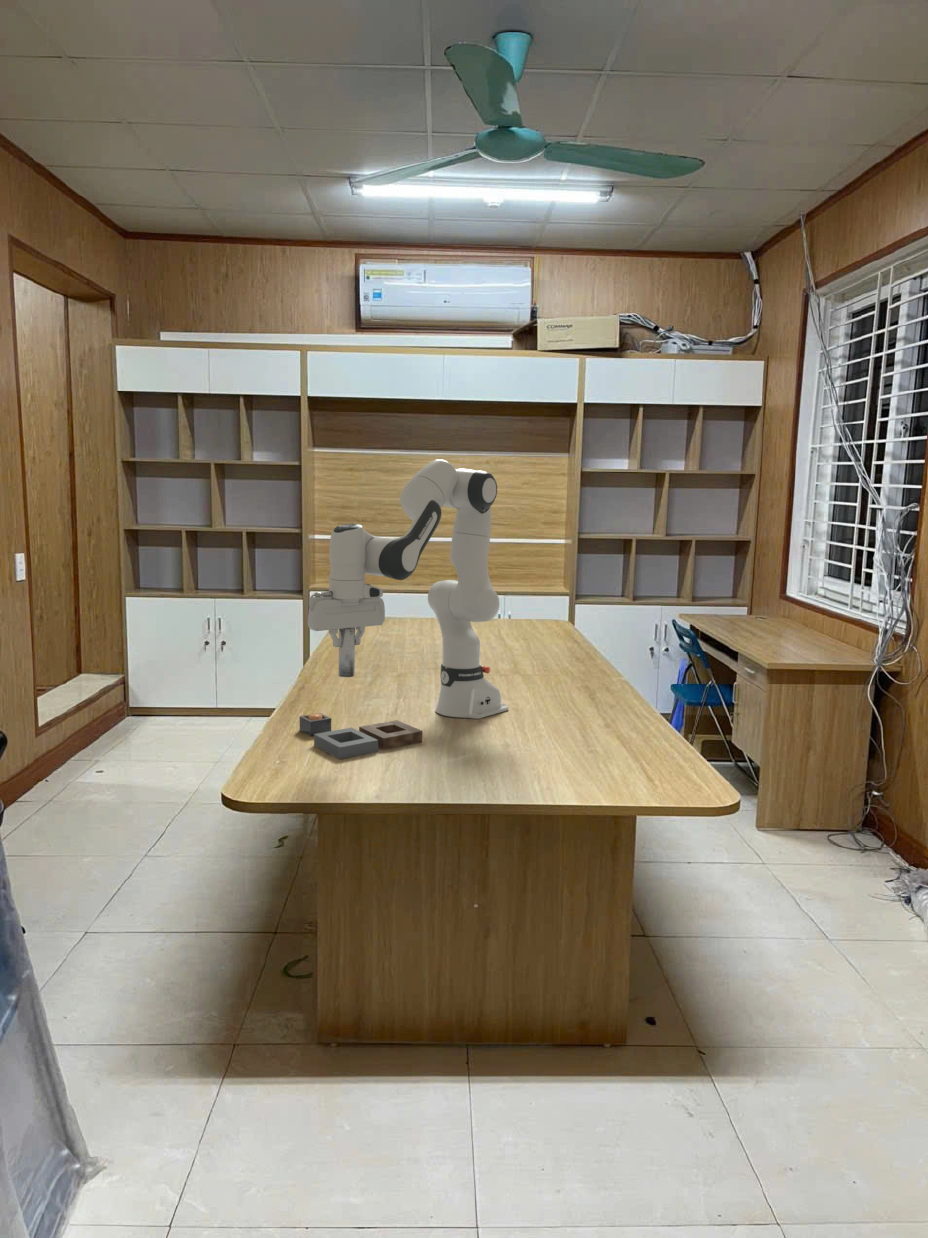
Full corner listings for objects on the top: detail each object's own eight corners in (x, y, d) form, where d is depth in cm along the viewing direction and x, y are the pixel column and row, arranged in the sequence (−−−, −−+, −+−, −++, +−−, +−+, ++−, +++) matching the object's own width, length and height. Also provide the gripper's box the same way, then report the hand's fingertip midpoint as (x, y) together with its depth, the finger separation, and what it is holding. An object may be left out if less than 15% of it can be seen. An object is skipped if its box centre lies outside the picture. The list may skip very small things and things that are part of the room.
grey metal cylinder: (349, 672, 214) (349, 626, 212) (357, 676, 211) (358, 628, 209) (335, 674, 212) (335, 627, 210) (343, 677, 209) (343, 630, 207)
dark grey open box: (320, 727, 232) (320, 712, 232) (331, 732, 227) (331, 718, 227) (299, 730, 228) (299, 716, 228) (310, 736, 224) (310, 721, 223)
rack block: (351, 738, 223) (351, 727, 222) (377, 751, 213) (378, 740, 212) (314, 745, 216) (314, 734, 216) (339, 759, 206) (339, 747, 206)
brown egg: (318, 725, 230) (318, 712, 230) (324, 728, 227) (324, 716, 227) (306, 727, 228) (306, 714, 227) (312, 730, 225) (312, 717, 225)
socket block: (396, 730, 231) (397, 720, 231) (422, 741, 222) (422, 730, 221) (359, 737, 224) (359, 726, 223) (383, 749, 214) (383, 738, 214)
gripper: (315, 594, 199) (315, 651, 201) (388, 589, 212) (387, 643, 214) (303, 591, 204) (303, 647, 206) (375, 586, 217) (374, 639, 219)
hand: (346, 645), depth 210 cm, fingers closed on grey metal cylinder, 4 cm apart
